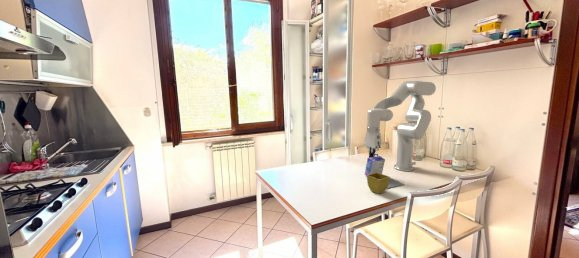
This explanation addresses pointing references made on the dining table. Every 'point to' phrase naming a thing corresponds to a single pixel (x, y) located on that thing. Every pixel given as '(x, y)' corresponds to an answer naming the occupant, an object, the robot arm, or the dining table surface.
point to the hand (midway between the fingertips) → (371, 158)
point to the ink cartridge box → (374, 165)
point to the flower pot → (377, 182)
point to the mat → (394, 183)
